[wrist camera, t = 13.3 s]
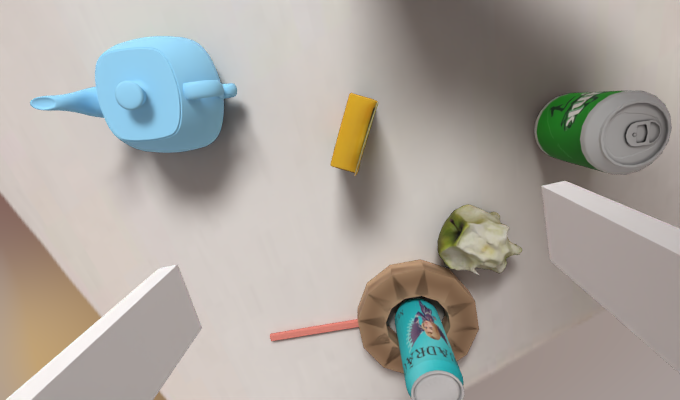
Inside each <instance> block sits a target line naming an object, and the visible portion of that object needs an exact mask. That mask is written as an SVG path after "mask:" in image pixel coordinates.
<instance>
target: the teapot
mask: <svg viewBox="0 0 680 400" xmlns="http://www.w3.org/2000/svg"><path fill="white" fill-rule="evenodd" d="M95 81H96V87H92V88H87V89H84V90H80V91H77V92H73V93H69V94H64V95H56V96H42V97H37V98H34V99H33V100H31V102H30V105H31V106H32V107H33V108H36V109H39V110H62V111H71V112H77V113H81V114H85V115H90V116H95V117H101V118H105V120H106V122H107V124H108V126H109V128H110V130H111V131H112V132H113V134H114V135H115V136H116V137H117V138H119V139H120V140H121V141H123V142H124V143H126V144H128V145H129V146H131V147H133V148H136V149H139V150H143V151H149V152H164V153H172V152H184V151H189V150H194V149H198V148H202V147H205V146H207V145H209V144H211V143H212V142H213V141H215V139H216V138H217V137H218V135H219V133H220V131H221V127H222V123H223V115H224V99H225V98H231V97H234V96H236V94H237V88H236V86H235V84H222V83H221V82H220V79H219V76H218V73H217V71H216V68H215V66H214V64H213V62H212V60H211V58H210V56H209V55H208V53H207V52H206V51H205V49H204V48H203V47H202V46H201V45H199V44H198V43H197V42H195V41H193V40H190V39H187V38H182V37H170V36H156V37H145V38H139V39H135V40H131V41H127V42H124V43H120V44H117V45H115V46H113V47H112V48H110V49H108V50H107V51H105V52H104V53H103V54H102V55H101V56H100V57H99V59H98V61H97V64H96V70H95Z"/></svg>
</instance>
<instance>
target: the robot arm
mask: <svg viewBox="0 0 680 400" xmlns="http://www.w3.org/2000/svg"><path fill="white" fill-rule="evenodd" d="M541 188H542V197H543V206H544V214H545V223H546V232H547V241H548V249H549V258H550V261H551V262H552V263H553V264H554V265H556V266H557V267H558V268H559V269H560V270H561V271H562V272H564V273H565V274H566V275H567V276H568V277H569V278H570V279H572V280H573V281H574V282H575V283H576V284H577V285H578V286H580V287H581V288H582V289H583V290H584V291H585V292H587V293H588V294H589V295H590V296H591V297H592V298H593V299H595V300H596V301H597V302H598V303H599V304H600V305H601V306H603V307H604V308H605V309H606V310H607V311H608V312H610V313H611V314H612V315H613V316H614V317H615V318H616V319H617V320H619V321H620V322H621V323H622V324H623V325H624V326H626V327H627V328H628V329H629V330H630V331H631V332H632V333H634V334H635V335H636V336H637V337H638V338H639V339H640V340H642V341H643V342H644V343H645V344H646V345H647V346H649V347H650V348H651V349H652V350H653V351H654V352H655V353H657V354H658V355H659V356H660V357H661V358H662V359H663V360H665V361H666V362H667V363H668V364H669V365H670V366H671V367H673V368H674V369H675V370H676V371H677V372H678V373H680V228H678V227H675V226H673V225H671V224H668V223H666V222H663V221H661V220H658V219H656V218H654V217H651V216H649V215H646V214H644V213H642V212H639V211H637V210H634V209H632V208H630V207H627V206H625V205H622V204H620V203H618V202H615V201H613V200H610V199H608V198H606V197H603V196H601V195H598V194H596V193H594V192H591V191H589V190H586V189H584V188H582V187H579V186H577V185H574V184H572V183H570V182H567V181H561V182H557V183H552V184H548V185H543V186H541ZM201 329H202V326H201V324H200V321H199V318H198V316H197V313H196V311H195V308H194V306H193V303H192V300H191V298H190V295H189V293H188V290H187V287H186V285H185V282H184V280H183V277H182V275H181V272H180V269H179V267H178V264H177V265H173V266H168V267H164V268H159V269H158V270H156V271H155V272H154V273H153V274H152V275H151V276H149V277H148V278H147V279H146V280H145V281H144V282H142V283H141V284H140V285H139V286H138V287H137V288H135V289H134V290H133V291H132V292H131V293H130V294H128V295H127V296H126V297H125V298H124V299H123V300H121V301H120V302H119V303H118V304H117V305H116V306H114V307H113V308H112V309H111V310H110V311H109V312H107V313H106V314H105V315H104V316H103V317H102V318H101V319H99V320H98V321H97V322H96V323H95V324H93V325H92V326H91V327H90V328H89V329H88V330H86V332H84V333H83V334H82V335H81V336H79V337H78V338H77V339H76V340H75V341H74V342H73V343H71V344H70V345H69V346H68V347H67V348H65V349H64V350H63V351H62V352H61V353H60V354H58V355H57V356H56V357H55V358H54V359H53V360H51V361H50V362H49V363H48V364H47V365H46V366H44V367H43V368H42V369H41V370H40V371H39V372H37V373H36V374H35V375H34V376H33V377H32V378H31V379H29V380H28V381H27V382H26V383H25V384H23V385H22V386H21V387H20V388H19V389H18V390H17V391H15V392H14V393H13V394H12V395H11V396H10V397H8V398H7V399H6V400H153V399H154V398H155V396H156V395H157V393H158V392H159V390H160V389H161V387H162V386H163V385H164V383H165V382H166V380H167V379H168V377H169V376H170V374H171V373H172V371H173V370H174V368H175V367H176V365H177V364H178V363H179V361H180V360H181V358H182V357H183V355H184V354H185V352H186V351H187V349H188V348H189V346H190V345H191V343H192V342H193V341H194V339H195V338H196V336H197V335H198V333H199V332H200V330H201Z"/></svg>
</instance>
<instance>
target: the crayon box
mask: <svg viewBox="0 0 680 400" xmlns="http://www.w3.org/2000/svg"><path fill="white" fill-rule="evenodd" d="M377 106H378V101H376V100H374V99H370V98H367V97H363V96H360V95H357V94H353V93H350V94H349V98H348V101H347V105H346V108H345V112H344V116H343V119H342V123H341V127H340V130H339V134H338V137H337V141H336V145H335V148H334V152H333V157H332V161H331V166H332V167H336V168H339V169H343V170H346V171H350V172H353V173H355V175H354V176H356V175H357V173H358V171H359V166H360V162H361V159H362V155H363V151H364V148H365V145H366V141H367V138H368V135H369V131H370V128H371V124H372V121H373V118H374V115H375V112H376V108H377Z"/></svg>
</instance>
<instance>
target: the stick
mask: <svg viewBox="0 0 680 400" xmlns="http://www.w3.org/2000/svg"><path fill="white" fill-rule="evenodd" d="M354 327H359V325H358V319H356V320H350V321H344V322H338V323H332V324H326V325H320V326H314V327H308V328H302V329H296V330H290V331H284V332H278V333H272V334H270V339H271V341H276V340H282V339H288V338H294V337H300V336H306V335H312V334H318V333H324V332H330V331H336V330H342V329H348V328H354Z"/></svg>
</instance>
